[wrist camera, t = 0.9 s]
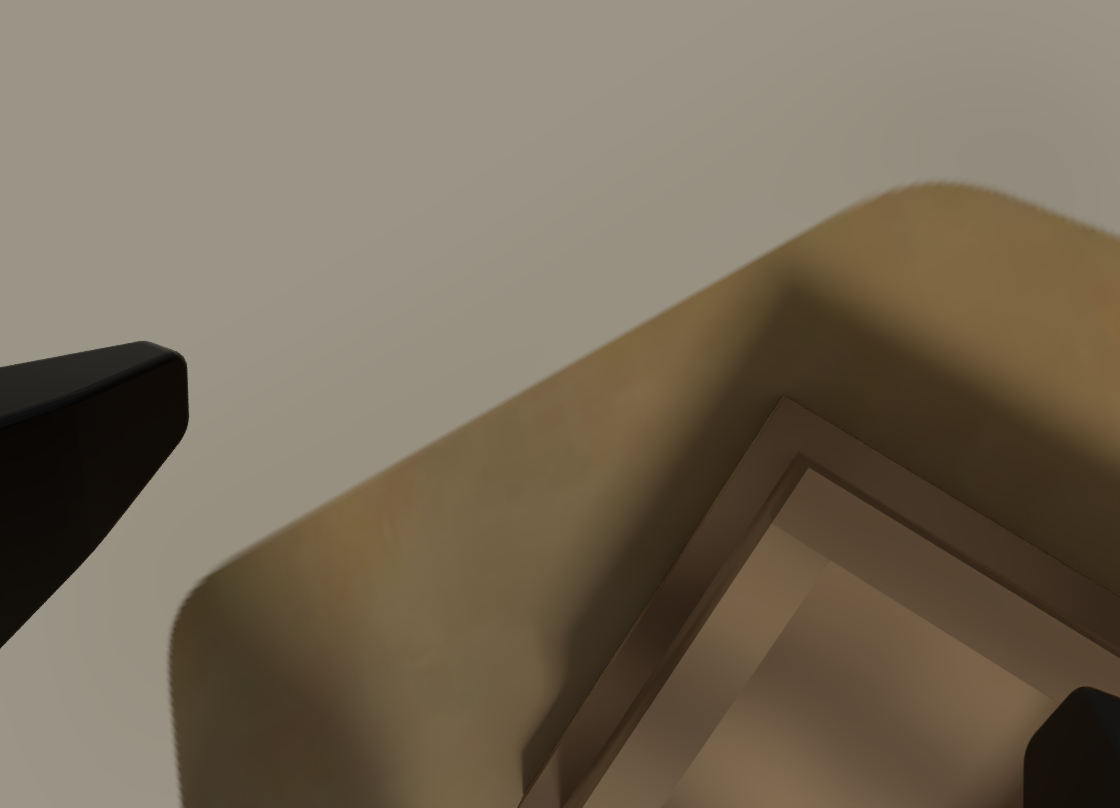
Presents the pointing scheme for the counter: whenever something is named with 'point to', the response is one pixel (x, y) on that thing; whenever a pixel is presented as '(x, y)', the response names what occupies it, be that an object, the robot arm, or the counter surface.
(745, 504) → the bottle rest
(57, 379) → the robot arm
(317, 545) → the counter surface
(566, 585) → the counter surface
